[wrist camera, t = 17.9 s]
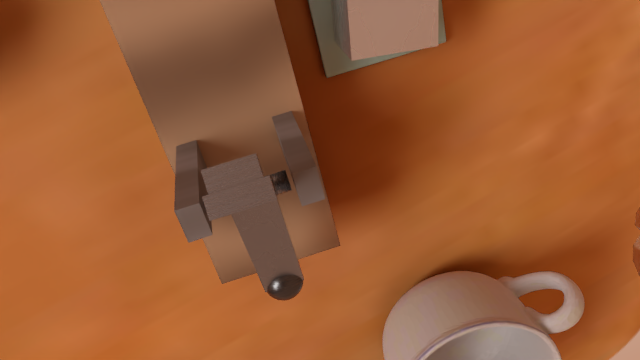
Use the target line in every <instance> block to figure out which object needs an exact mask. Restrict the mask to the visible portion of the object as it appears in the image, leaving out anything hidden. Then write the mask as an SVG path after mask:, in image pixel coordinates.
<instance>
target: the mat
mask: <svg viewBox="0 0 640 360" xmlns="http://www.w3.org/2000/svg"><path fill="white" fill-rule="evenodd" d="M308 5H309V9H310V13H311V17H312V21H313V26H314V30H315V34H316V38H317V42H318V46H319V51H320V55H321V59H322V63H323V67H324V72H325V76H326V77H327V78H329V77H332V76H335V75H338V74H342V73H345V72H348V71H352V70H355V69H358V68H361V67H365V66H368V65H371V64H375V63H378V62H381V61H385V60H388V59H391V58H394V57H398V56H401V55H404V54H408V53H411V52H414V51H417V50H412V51H406V52H400V53H394V54H388V55H382V56H376V57H370V58H365V59H359V60H353V61H352V60H351V59H350V58H349V57H348V56H347V55H346V54H345V53H344V52H343V50H342V49H341V48H340V47H339V46H338V45H337V44H336V43H335V39H334V28H333V16H332V5H331V0H308ZM444 42H446V35H445V26H444V17H443V9H442V0H438V44H440V43H444ZM418 50H421V49H418Z"/></svg>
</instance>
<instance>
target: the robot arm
mask: <svg viewBox="0 0 640 360" xmlns="http://www.w3.org/2000/svg"><path fill="white" fill-rule="evenodd" d="M635 226H636V227H637V228H638V229H639V230H640V208H639V209H638V211H637V213H636V220H635ZM633 262H634V264H635V267H636V269H637V272H638V274H639V276H640V236H639V237H638V239H637V241H636V242H635V244H634V245H633Z"/></svg>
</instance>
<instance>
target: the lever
mask: <svg viewBox="0 0 640 360" xmlns="http://www.w3.org/2000/svg"><path fill="white" fill-rule="evenodd" d="M201 173H202V176H203V180H204V183H205V186H206V189H207V192H208V194H207V195H206V196H203V197H202V199H203V202H204V205H205V208H206V211H207V215H208V218H209V221H212V220H215V219H218V218H221V217H224V216H228V215H232V218H233V220H234V222H235V224H236V227H237V229H238V231H239V233H240V236H241V238H242V240H243V242H244V245H245V247H246V249H247V251H248V254H249V256H250V258H251V260H252V263H253V265H254V267H255V269H256V272H257V274H258V276H259V278H260V281H261V283H262V285H263V287H264V290H265V292H267V293H268V294H269V295H270V296H271V297H273V298H275V299H277V300H289V299H292V298H293V297H295V296H296V295H297V294H298V293H299V292H300V290H301V288H302V285H303V280H304V278H303V275H302V271H301V268H300V265H299V262H298V259H297V256H296V253H295V250H294V247H293V244H292V241H291V238H290V235H289V232H288V229H287V226H286V223H285V220H284V217H283V214H282V211H281V208H280V205H279V202H278V199H277V195H279V194H282V193H285V192H288V191H291V190H292V189H291V186H290V183H289V180H288V176H287V173H286V170H283V171H280V172H277V173H274V174H270V175H267V176H264V174H263V171H262V168H261V165H260V162H259V159H258V155H257V154H256V153H255V154H252V155H248V156H245V157H242V158H239V159H235V160H232V161H229V162H226V163H223V164H219V165H216V166H213V167H210V168H206V169H203V170H201Z"/></svg>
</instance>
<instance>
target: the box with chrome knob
mask: <svg viewBox="0 0 640 360" xmlns="http://www.w3.org/2000/svg"><path fill="white" fill-rule="evenodd" d="M331 5H332V16H333V28H334V39H335V43H336V44H337V45H338V46H339V47H340V48H341V49H342V50H343V52H344V53H345V54H346V55H347V56H348V57H349V58H350V59H351V60H352V61H353V60H359V59H365V58H370V57H376V56H382V55H388V54H394V53H400V52H406V51H412V50H418V49H424V48H430V47H436V46H438V0H331Z"/></svg>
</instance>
